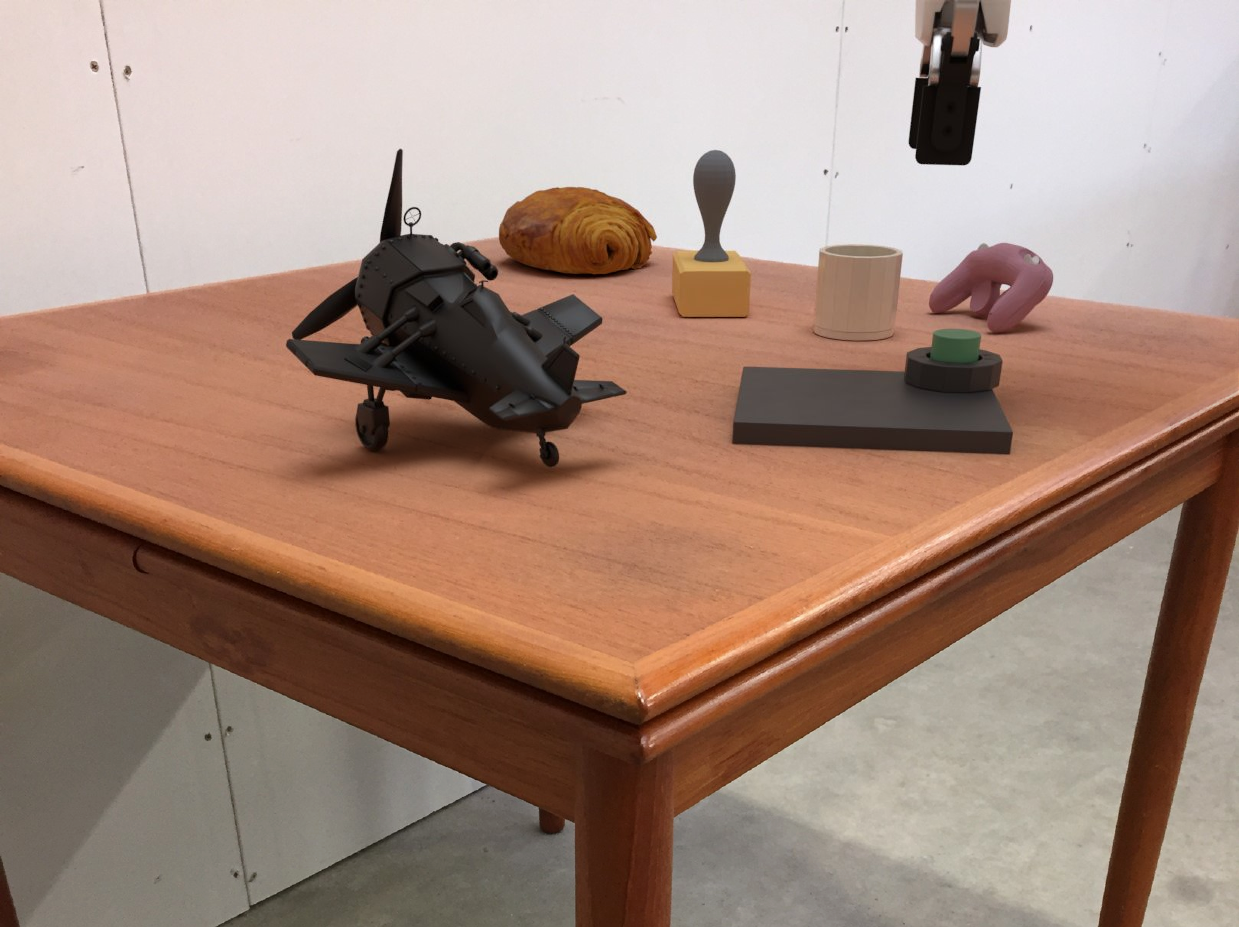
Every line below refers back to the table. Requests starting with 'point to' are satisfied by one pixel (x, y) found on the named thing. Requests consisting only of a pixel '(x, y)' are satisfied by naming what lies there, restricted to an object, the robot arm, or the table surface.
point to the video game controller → (995, 284)
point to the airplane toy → (451, 338)
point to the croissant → (576, 232)
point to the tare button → (955, 345)
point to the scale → (877, 407)
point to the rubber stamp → (712, 250)
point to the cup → (857, 292)
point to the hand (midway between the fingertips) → (937, 156)
